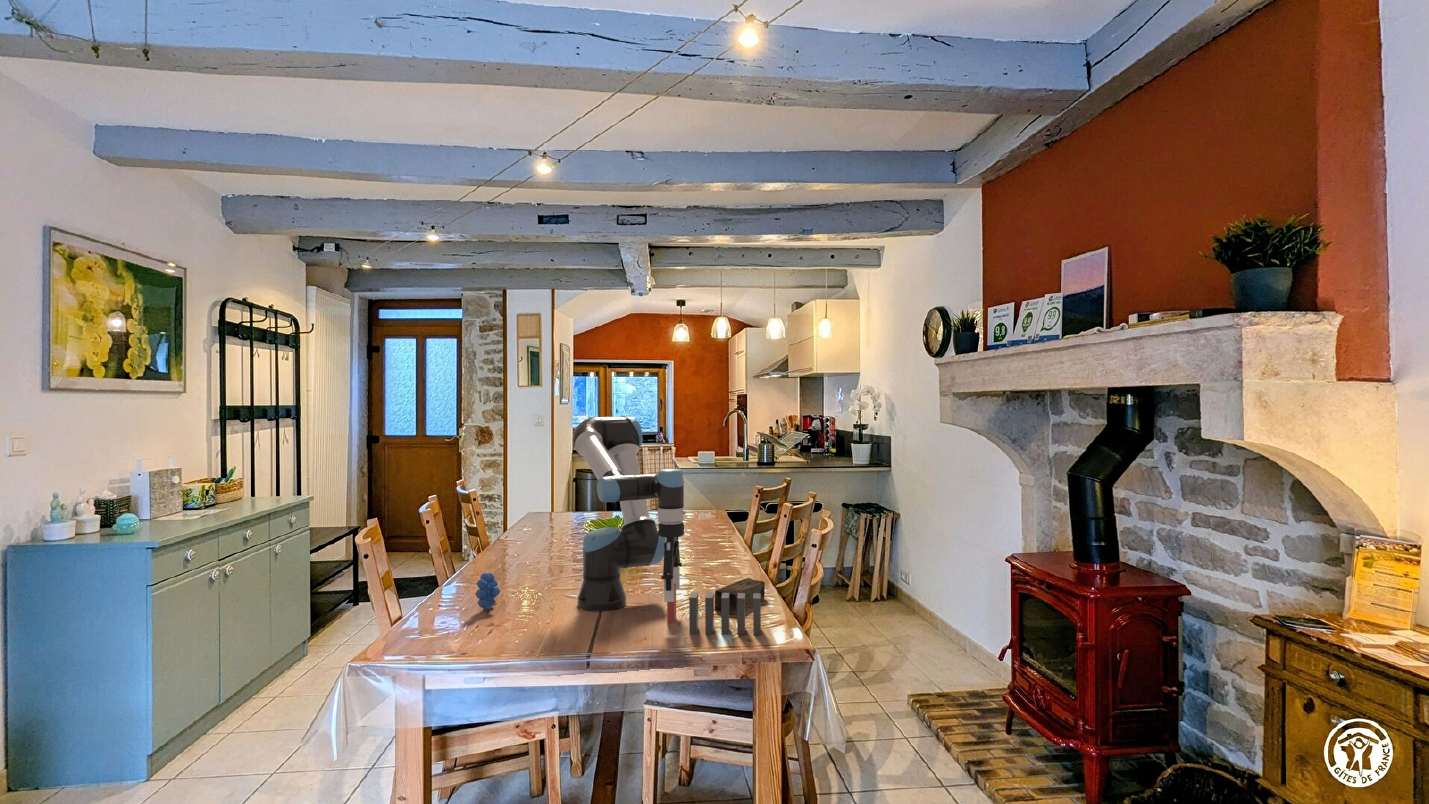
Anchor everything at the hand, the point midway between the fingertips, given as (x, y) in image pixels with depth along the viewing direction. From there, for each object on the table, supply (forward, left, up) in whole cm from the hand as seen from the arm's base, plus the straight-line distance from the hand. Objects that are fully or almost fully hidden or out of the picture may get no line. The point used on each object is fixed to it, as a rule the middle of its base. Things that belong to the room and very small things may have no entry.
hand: (672, 595), depth 200 cm
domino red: (0, 0, -7) cm, 7 cm away
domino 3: (+16, -9, -7) cm, 20 cm away
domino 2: (+12, -9, -7) cm, 16 cm away
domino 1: (+7, -9, -7) cm, 13 cm away
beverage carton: (+19, +17, -8) cm, 27 cm away
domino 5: (+25, -9, -7) cm, 27 cm away
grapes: (-57, +6, -8) cm, 58 cm away
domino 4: (+20, -9, -7) cm, 23 cm away
